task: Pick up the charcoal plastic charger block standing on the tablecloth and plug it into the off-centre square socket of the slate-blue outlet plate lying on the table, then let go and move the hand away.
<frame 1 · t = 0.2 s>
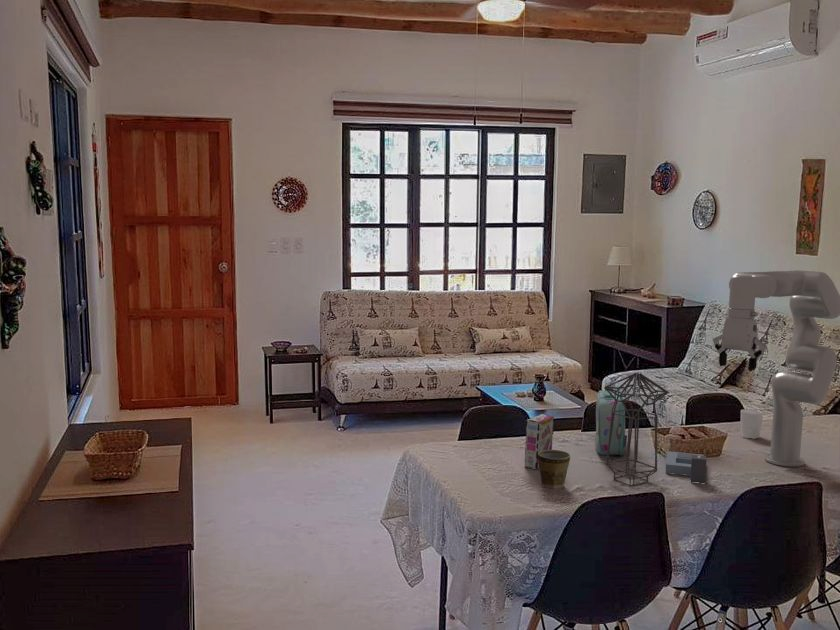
hand: (737, 367, 258), 37 cm above the table, tool pointing down, fingers open, 9 cm apart
ceramic cup: (550, 484, 256), on the table
lunch box: (609, 449, 295), on the table
charger block: (697, 481, 261), on the table
candy bar box: (538, 465, 275), on the table
geometric lantern: (632, 480, 261), on the table
outlet plate: (684, 469, 272), on the table
white cup: (750, 437, 315), on the table
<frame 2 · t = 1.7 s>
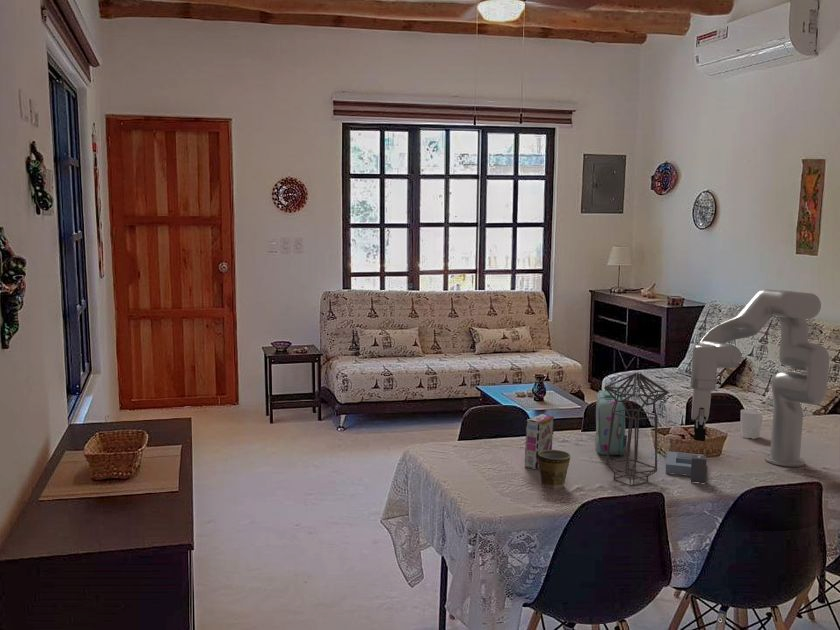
hand: (699, 436, 259), 15 cm above the table, tool pointing down, fingers open, 9 cm apart
nothing on the table moved.
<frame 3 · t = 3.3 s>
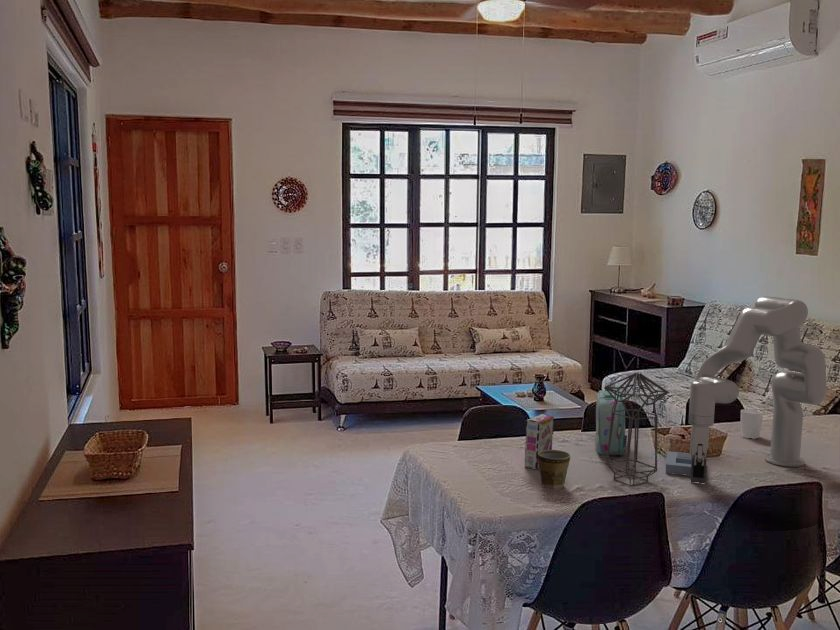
hand: (698, 473, 260), 3 cm above the table, tool pointing down, fingers open, 6 cm apart
nothing on the table moved.
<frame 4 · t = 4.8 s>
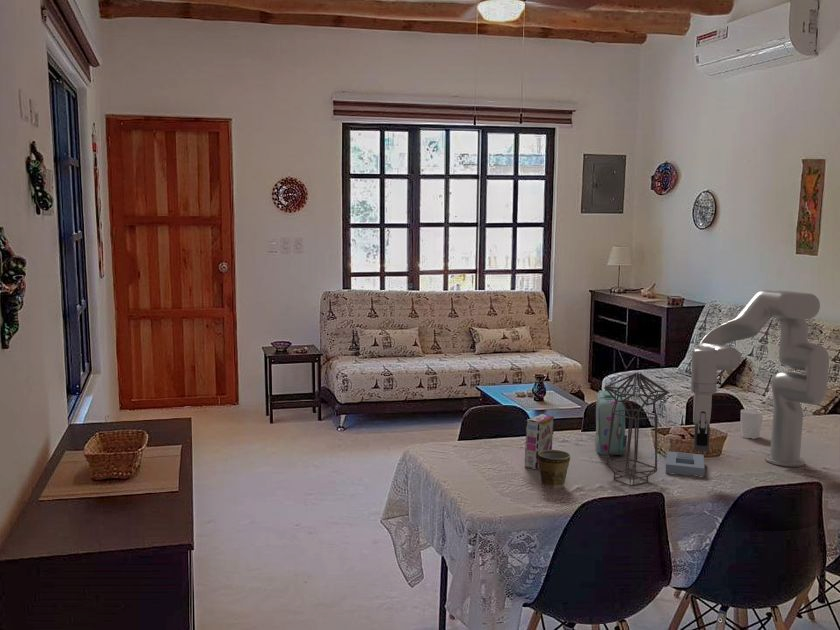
hand: (701, 442, 259), 13 cm above the table, tool pointing down, fingers closed on charger block, 4 cm apart
charger block: (701, 449, 260), point 10 cm above the table, touching gripper
everything else where it was.
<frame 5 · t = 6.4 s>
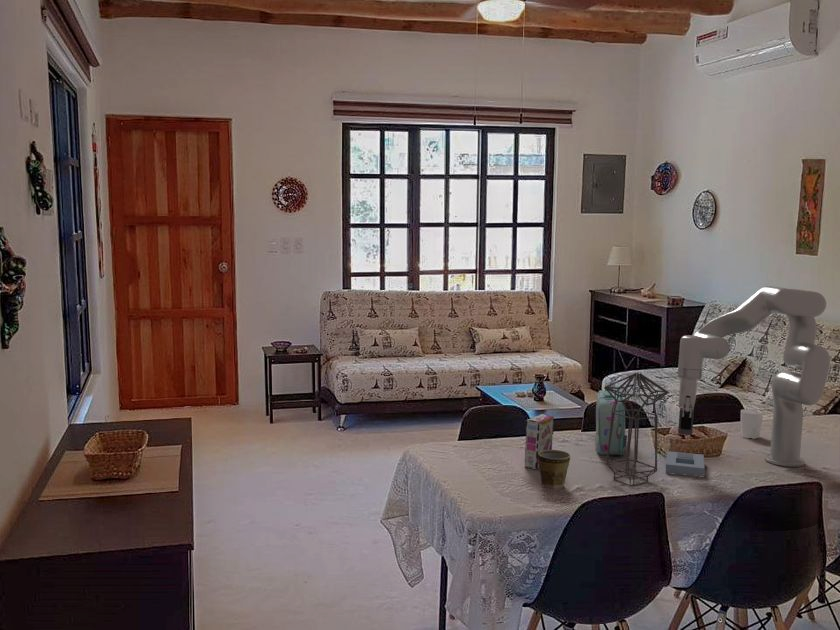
hand: (685, 426, 270), 15 cm above the table, tool pointing down, fingers closed on charger block, 4 cm apart
charger block: (685, 433, 270), point 13 cm above the table, touching gripper
everything else where it was.
when the fingers open (4 cm above the table, at t = 8.9 s): charger block drops 2 cm, resting in outlet plate.
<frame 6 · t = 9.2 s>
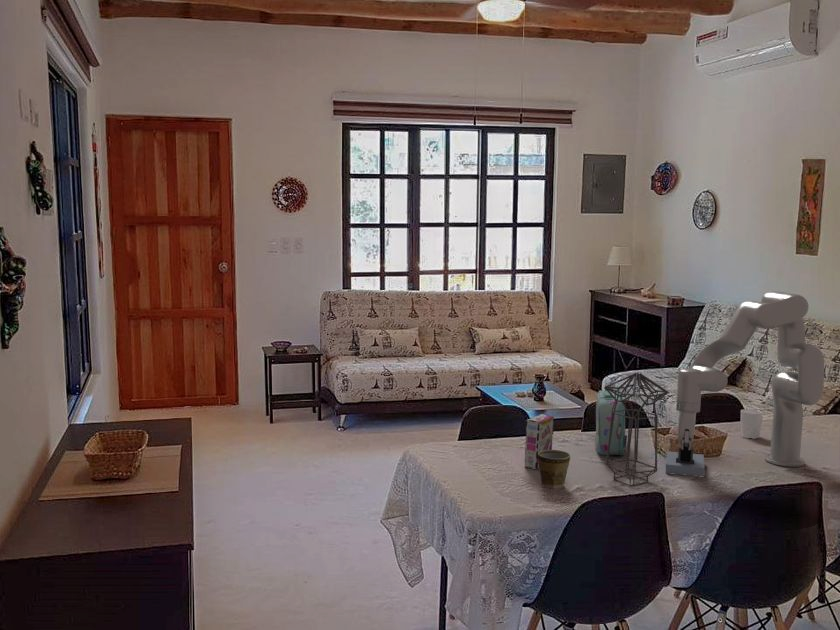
hand: (685, 457, 272), 4 cm above the table, tool pointing down, fingers open, 7 cm apart
charger block: (684, 469, 272), resting in outlet plate
everything else where it was.
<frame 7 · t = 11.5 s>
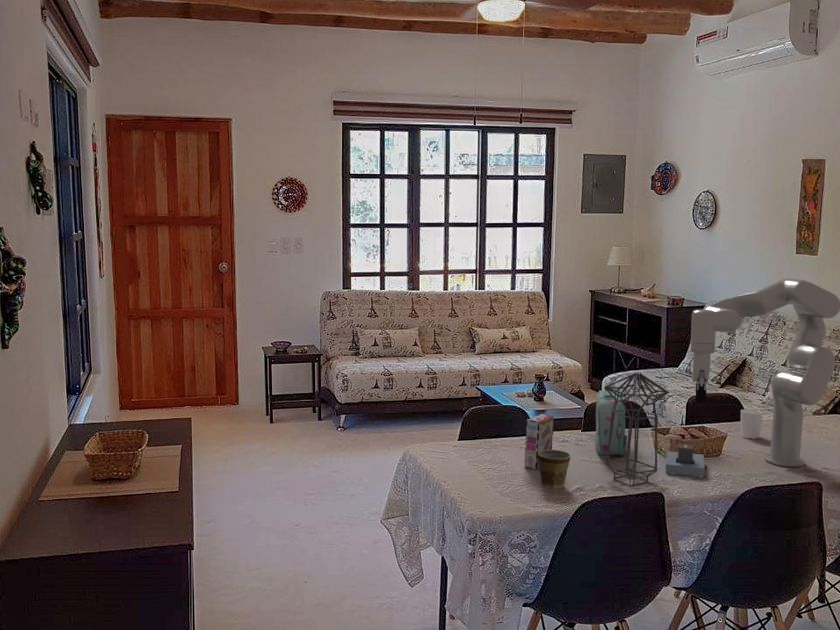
hand: (700, 398, 269), 24 cm above the table, tool pointing down, fingers open, 9 cm apart
nothing on the table moved.
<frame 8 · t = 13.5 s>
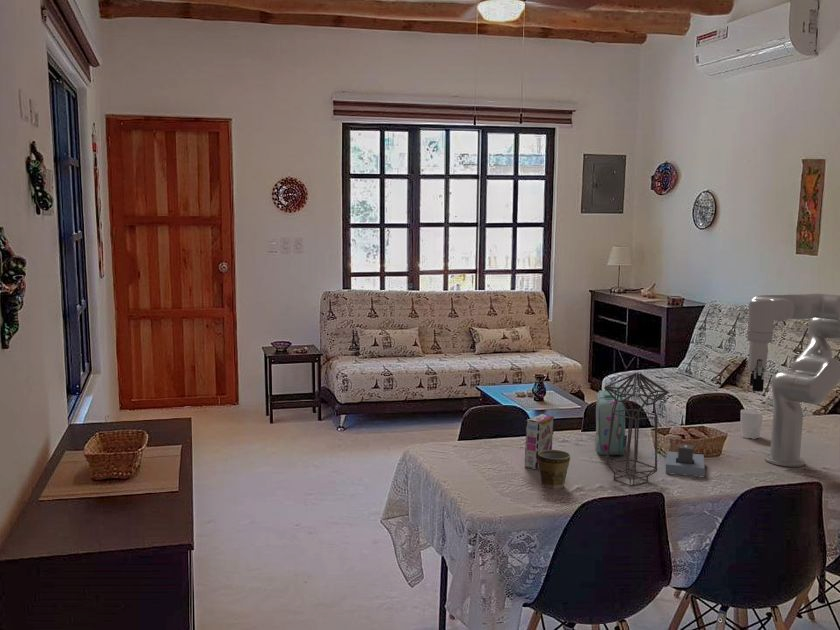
hand: (756, 388, 268), 28 cm above the table, tool pointing down, fingers open, 9 cm apart
nothing on the table moved.
at the end: charger block 0.0 cm off-centre on the outlet plate, point 0.0 cm above the outlet plate's base; charger block tilted 0°; the gripper is holding nothing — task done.
